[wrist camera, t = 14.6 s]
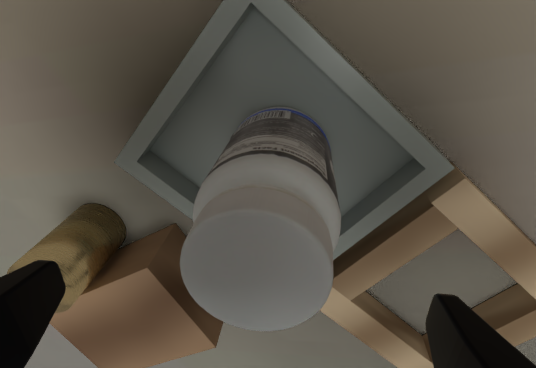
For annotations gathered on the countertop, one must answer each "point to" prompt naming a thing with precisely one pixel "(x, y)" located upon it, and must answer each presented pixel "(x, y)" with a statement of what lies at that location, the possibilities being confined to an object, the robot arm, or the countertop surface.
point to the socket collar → (414, 243)
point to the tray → (280, 95)
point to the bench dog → (79, 248)
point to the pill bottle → (265, 225)
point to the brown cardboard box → (139, 308)
